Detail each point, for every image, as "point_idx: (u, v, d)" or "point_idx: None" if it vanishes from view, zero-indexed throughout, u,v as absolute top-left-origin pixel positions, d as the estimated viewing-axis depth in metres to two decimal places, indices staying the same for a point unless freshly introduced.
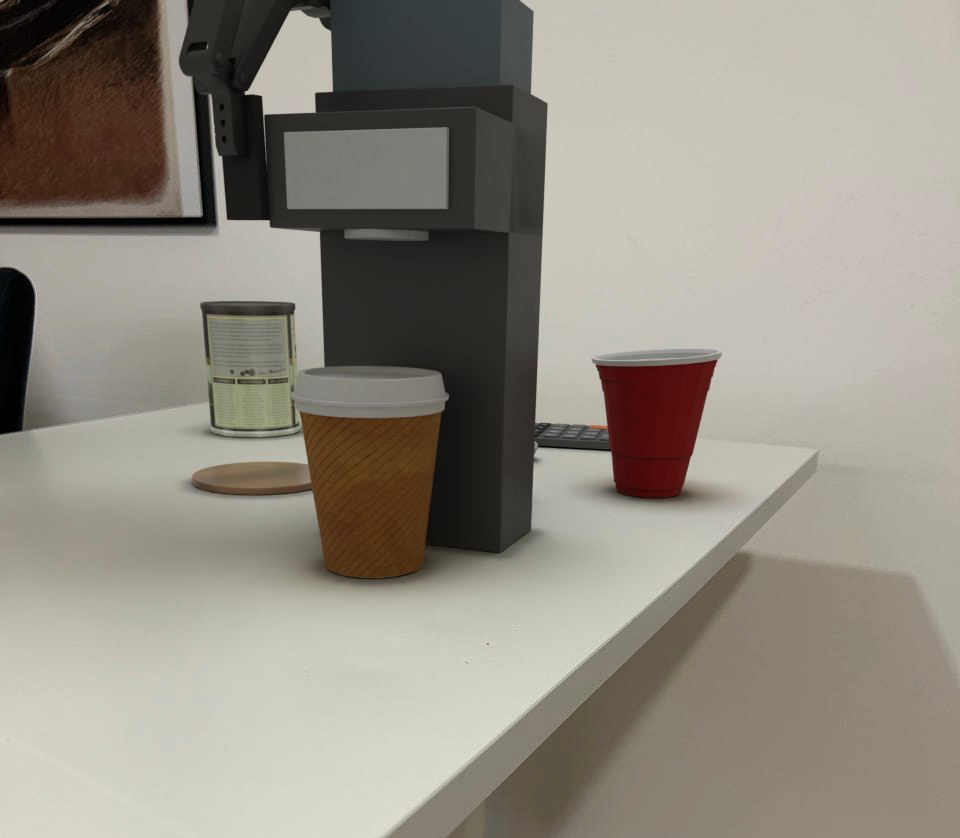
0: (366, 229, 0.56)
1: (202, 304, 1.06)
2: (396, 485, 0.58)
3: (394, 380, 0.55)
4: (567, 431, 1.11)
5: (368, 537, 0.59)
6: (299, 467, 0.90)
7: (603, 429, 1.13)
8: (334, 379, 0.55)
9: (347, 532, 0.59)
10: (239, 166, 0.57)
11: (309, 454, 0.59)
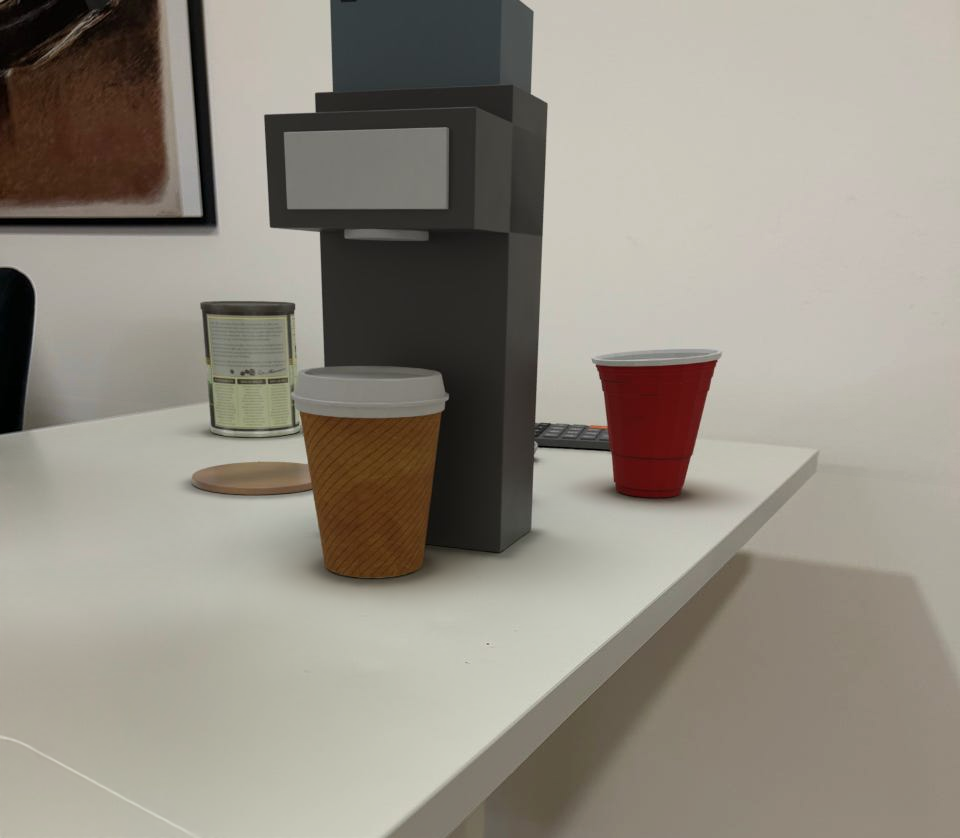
0: (366, 229, 0.56)
1: (202, 304, 1.06)
2: (396, 485, 0.58)
3: (394, 380, 0.55)
4: (567, 431, 1.11)
5: (368, 537, 0.59)
6: (299, 467, 0.90)
7: (603, 429, 1.13)
8: (334, 379, 0.55)
9: (347, 532, 0.59)
10: None
11: (309, 454, 0.59)
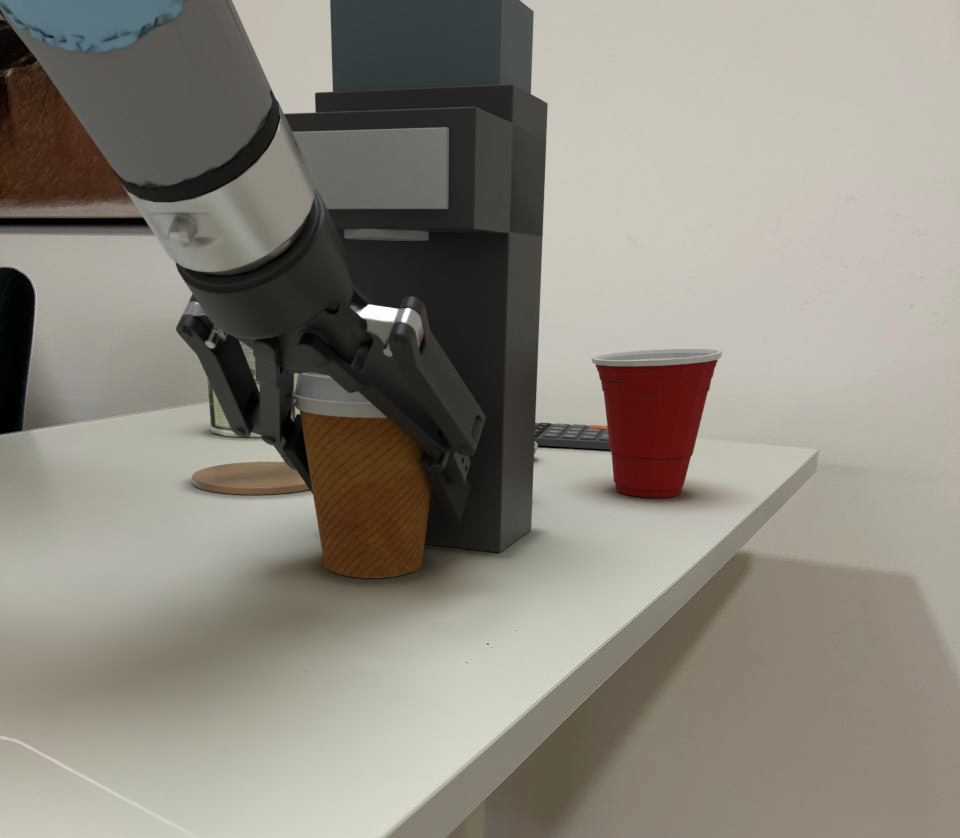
0: (366, 229, 0.56)
1: None
2: (396, 485, 0.58)
3: None
4: (567, 431, 1.11)
5: (368, 536, 0.59)
6: None
7: (603, 429, 1.13)
8: None
9: (347, 532, 0.59)
10: None
11: (309, 454, 0.59)
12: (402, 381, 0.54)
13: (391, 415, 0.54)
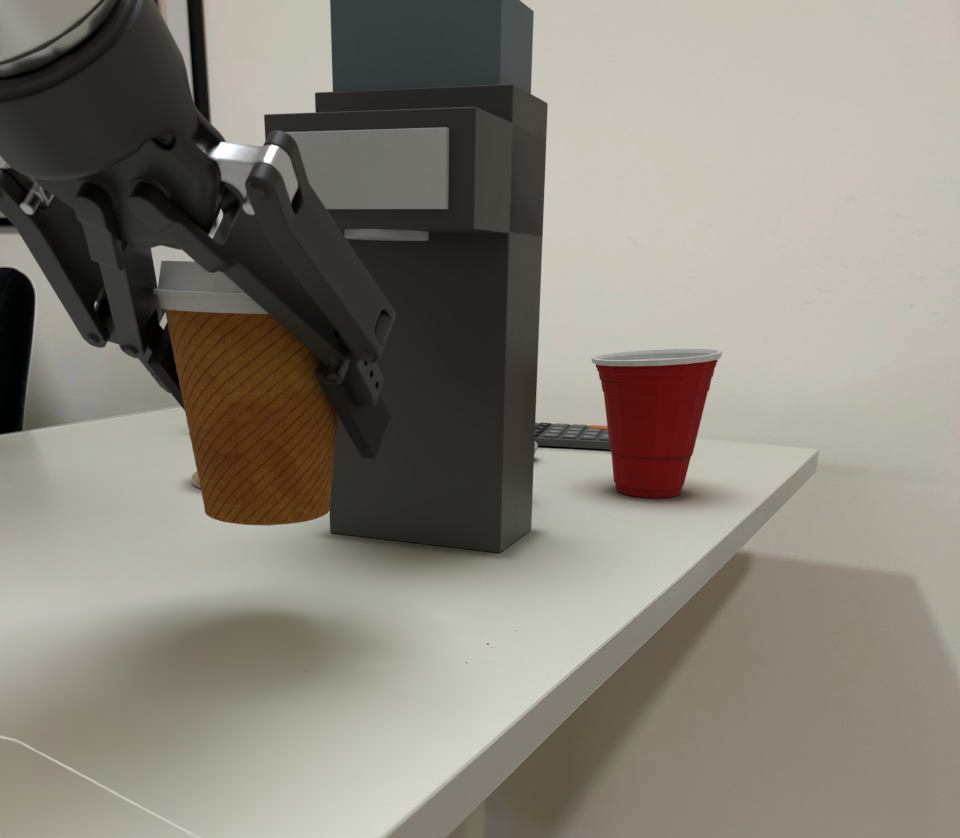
0: (366, 229, 0.56)
1: None
2: (285, 405, 0.46)
3: None
4: (567, 431, 1.11)
5: (252, 472, 0.47)
6: None
7: (603, 429, 1.13)
8: None
9: (225, 465, 0.47)
10: None
11: (177, 366, 0.46)
12: (281, 261, 0.41)
13: (269, 306, 0.42)
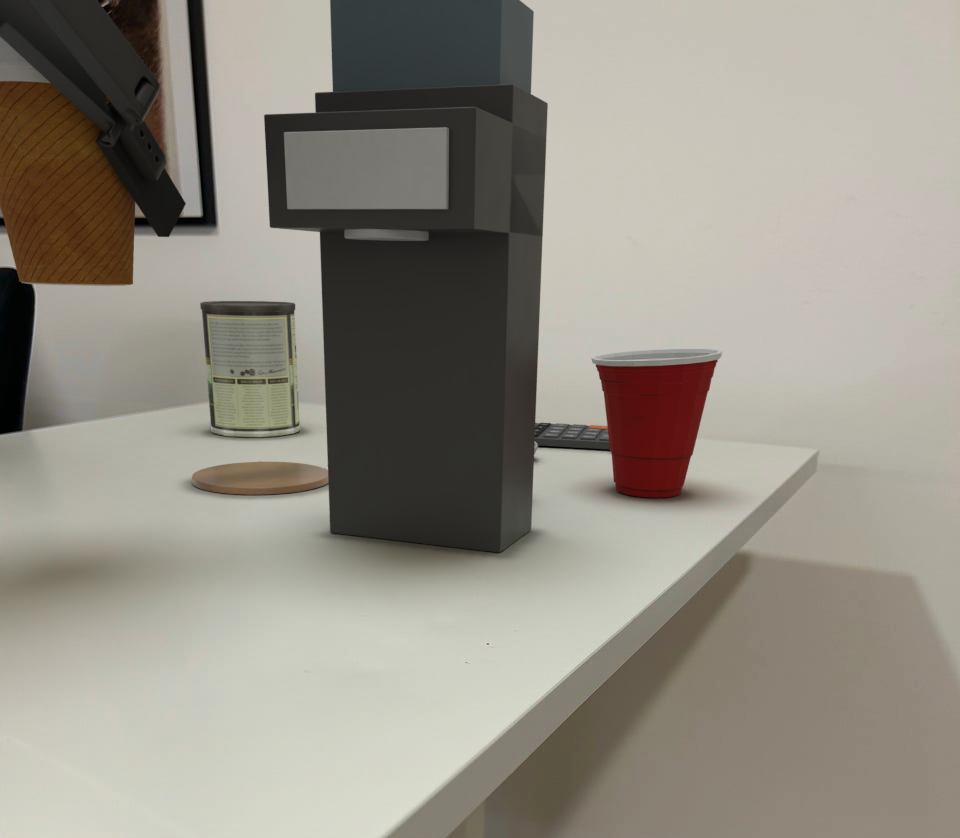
0: (366, 229, 0.56)
1: (202, 304, 1.06)
2: (73, 171, 0.53)
3: None
4: (567, 431, 1.11)
5: (49, 232, 0.54)
6: (299, 467, 0.90)
7: (603, 429, 1.13)
8: None
9: (26, 227, 0.54)
10: None
11: None
12: (51, 28, 0.49)
13: (42, 69, 0.49)
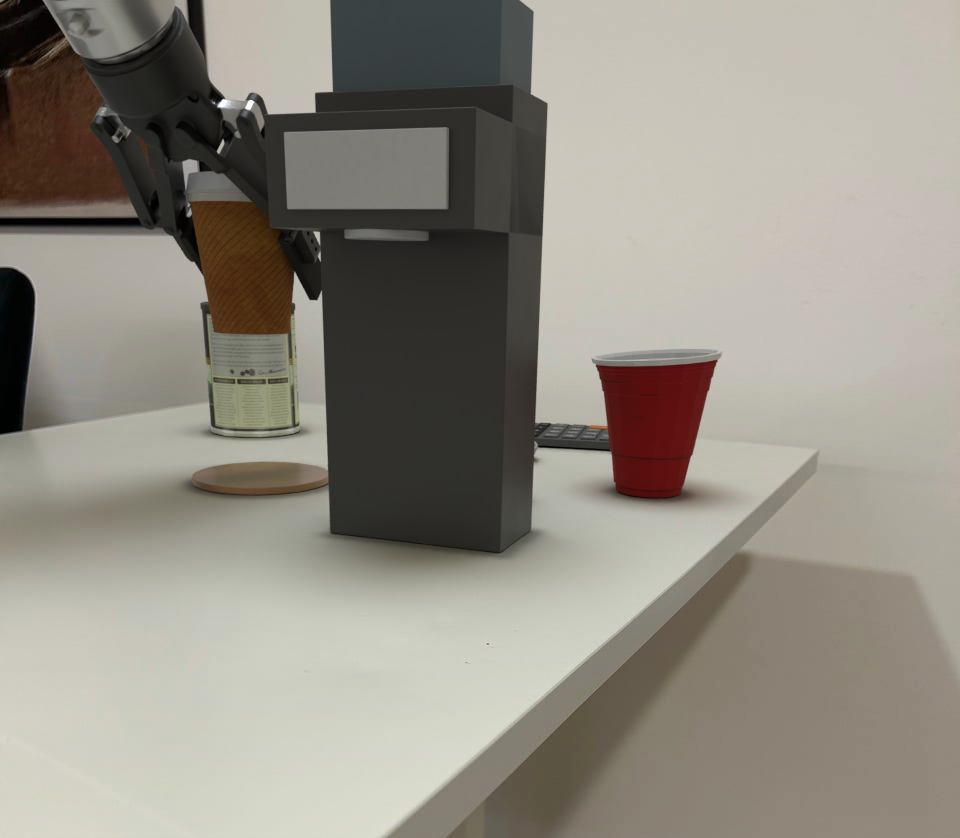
0: (366, 229, 0.56)
1: (202, 304, 1.06)
2: (261, 258, 0.78)
3: None
4: (567, 431, 1.11)
5: (242, 300, 0.79)
6: (299, 467, 0.90)
7: (603, 429, 1.13)
8: (211, 172, 0.75)
9: (226, 296, 0.79)
10: None
11: (197, 237, 0.79)
12: (257, 169, 0.73)
13: (250, 195, 0.74)
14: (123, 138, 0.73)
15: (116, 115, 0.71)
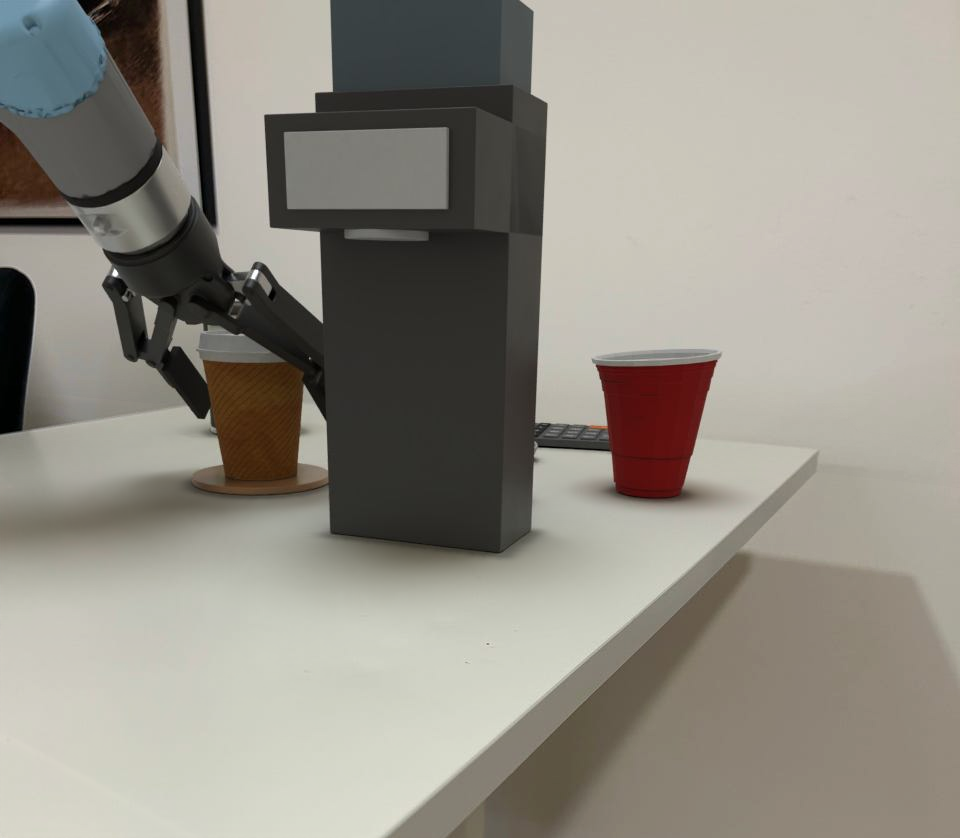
0: (366, 229, 0.56)
1: None
2: (270, 412, 0.82)
3: None
4: (567, 431, 1.11)
5: (251, 449, 0.83)
6: (299, 467, 0.90)
7: (603, 429, 1.13)
8: (222, 335, 0.79)
9: (236, 446, 0.83)
10: None
11: (209, 390, 0.83)
12: None
13: (270, 348, 0.77)
14: (130, 296, 0.77)
15: None
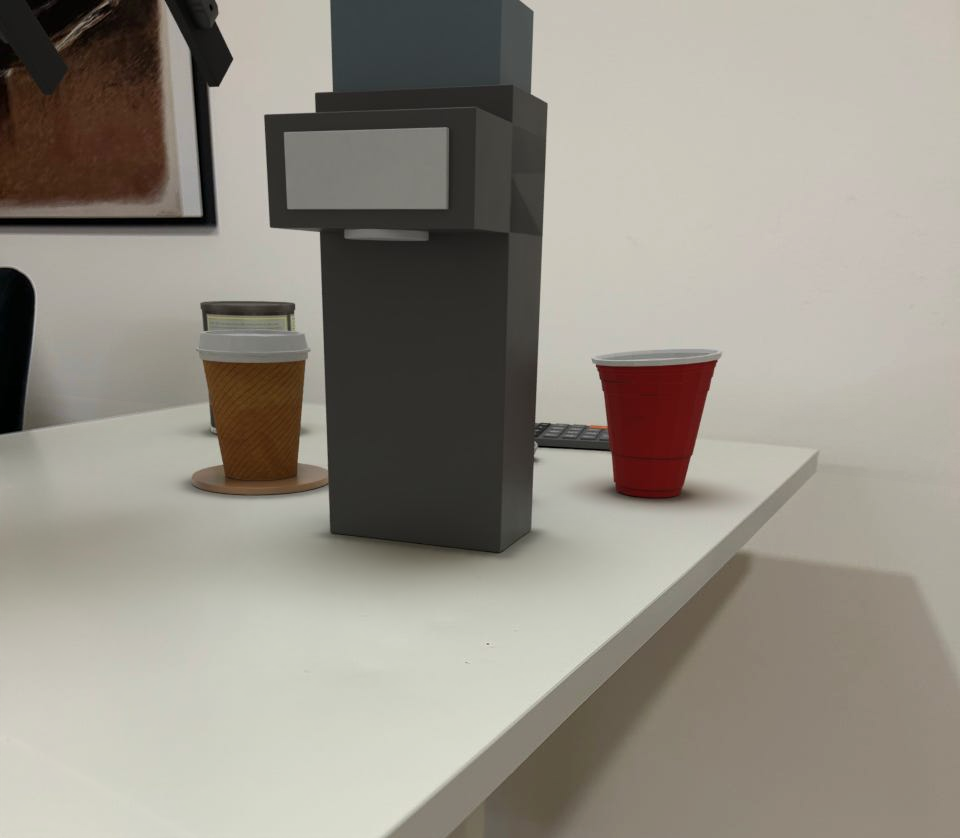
0: (366, 229, 0.56)
1: (202, 304, 1.06)
2: (270, 412, 0.82)
3: (264, 336, 0.79)
4: (567, 431, 1.11)
5: (251, 449, 0.83)
6: (299, 467, 0.90)
7: (603, 429, 1.13)
8: (222, 335, 0.79)
9: (236, 446, 0.83)
10: None
11: (209, 390, 0.83)
12: None
13: None
14: None
15: None
